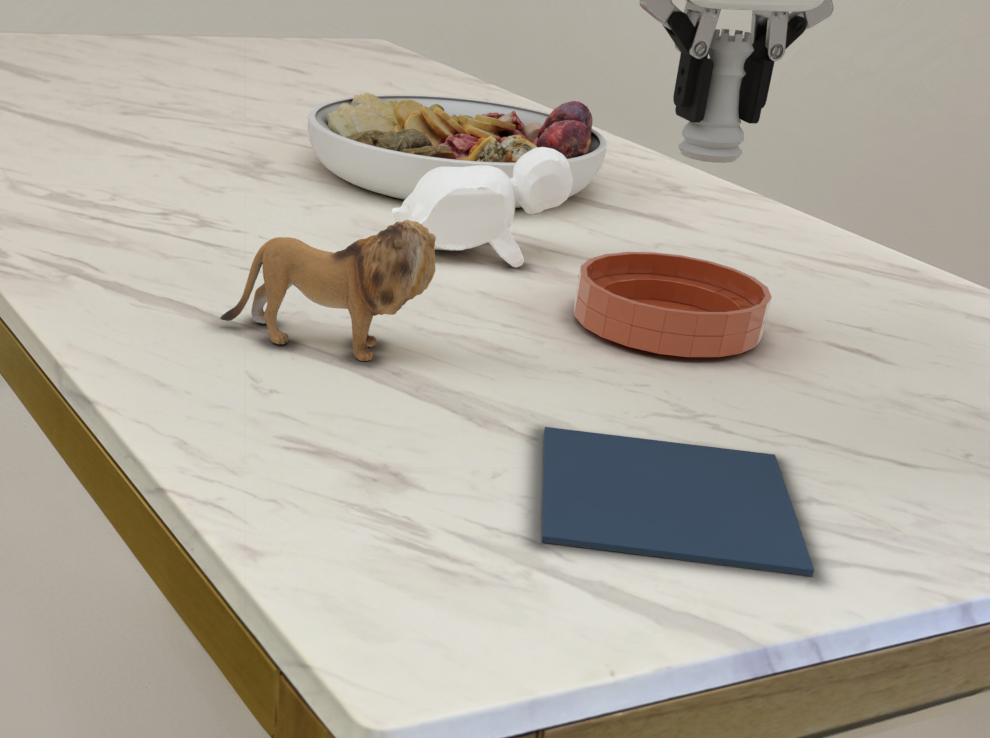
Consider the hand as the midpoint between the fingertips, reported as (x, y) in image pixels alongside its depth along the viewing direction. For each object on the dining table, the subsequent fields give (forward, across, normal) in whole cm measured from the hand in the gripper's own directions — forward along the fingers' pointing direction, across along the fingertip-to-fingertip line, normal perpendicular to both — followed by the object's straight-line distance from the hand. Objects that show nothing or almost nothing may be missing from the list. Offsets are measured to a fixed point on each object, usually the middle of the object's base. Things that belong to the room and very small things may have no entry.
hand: (716, 116), depth 87 cm
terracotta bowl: (+15, 0, +1) cm, 15 cm away
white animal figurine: (+15, -10, +19) cm, 26 cm away
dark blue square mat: (+16, -12, -26) cm, 32 cm away
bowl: (+15, -5, +44) cm, 47 cm away
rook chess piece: (+3, 0, 0) cm, 3 cm away
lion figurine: (+15, -27, -1) cm, 31 cm away
